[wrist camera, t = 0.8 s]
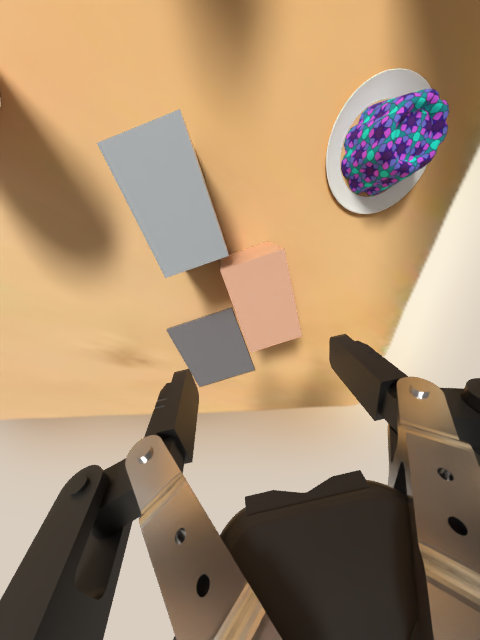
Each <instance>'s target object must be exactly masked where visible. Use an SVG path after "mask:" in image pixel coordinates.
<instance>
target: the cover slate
mask: <svg viewBox="0 0 480 640" xmlns="http://www.w3.org/2000/svg"><path fill="white" fill-rule="evenodd" d="M97 144H98V146H99V148H100V150H101V152H102V154H103V156H104V158H105V160H106V162H107V164H108V166H109V168H110V170H111V172H112V174H113V176H114V178H115V180H116V182H117V184H118V186H119V188H120V190H121V191H122V193H123V195H124V197H125V199H126V201H127V203H128V205H129V207H130V209H131V211H132V213H133V215H134V217H135V219H136V221H137V223H138V225H139V227H140V229H141V231H142V233H143V235H144V237H145V239H146V241H147V243H148V245H149V247H150V248H151V250H152V252H153V254H154V256H155V258H156V260H157V262H158V264H159V266H160V268H161V270H162V272H163V274H164V276H165V278H167V277H170V276H173V275H176V274H178V273H181V272H184V271H187V270H190V269H193V268H196V267H198V266H201V265H204V264H207V263H210V262H213V261H216V260H218V259H221V258H224V257H227V256H229V254H228V250H227V246H226V243H225V240H224V236H223V233H222V230H221V227H220V224H219V221H218V218H217V215H216V212H215V209H214V206H213V203H212V200H211V197H210V194H209V191H208V188H207V185H206V182H205V179H204V176H203V173H202V170H201V167H200V164H199V161H198V158H197V155H196V152H195V149H194V146H193V143H192V141H191V138H190V135H189V133H188V130H187V127H186V124H185V122H184V119H183V116H182V114H181V111H180V109H179V110H177V111H174V112H172V113H170V114H167V115H165V116H162V117H160V118H157V119H155V120H152V121H150V122H148V123H145V124H143V125H140V126H138V127H135V128H133V129H130V130H128V131H125V132H123V133H121V134H118V135H116V136H113V137H111V138H108V139H106V140H103V141H101V142H99V143H97Z"/></svg>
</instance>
